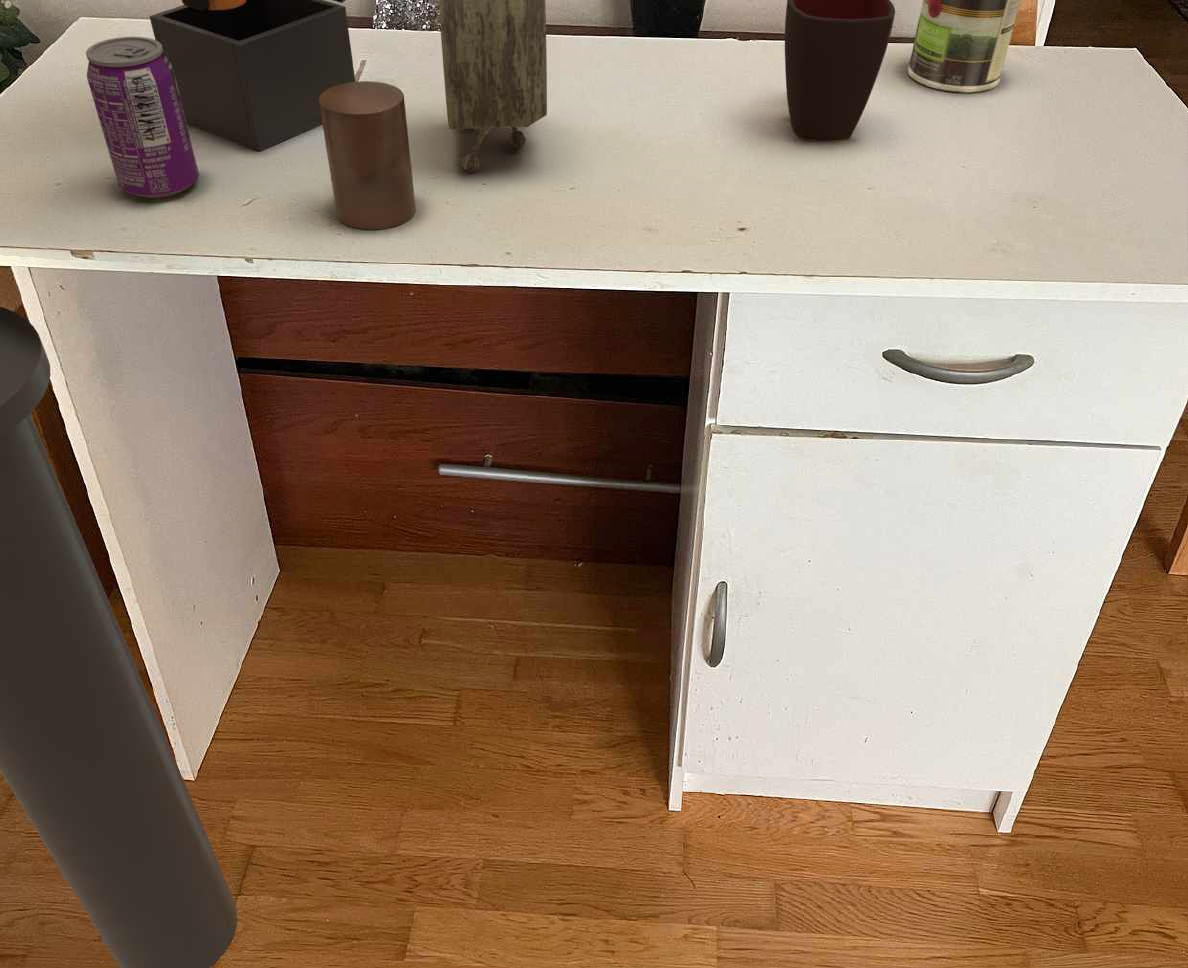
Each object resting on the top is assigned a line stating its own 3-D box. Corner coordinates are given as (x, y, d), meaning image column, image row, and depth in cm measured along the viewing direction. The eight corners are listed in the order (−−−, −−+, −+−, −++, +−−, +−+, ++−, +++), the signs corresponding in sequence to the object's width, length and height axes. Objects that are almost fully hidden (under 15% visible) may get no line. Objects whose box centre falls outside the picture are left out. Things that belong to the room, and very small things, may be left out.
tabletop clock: (450, 119, 114) (428, -172, 96) (539, 117, 115) (533, -173, 97) (452, 181, 104) (427, -131, 86) (549, 179, 105) (544, -132, 87)
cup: (780, 151, 110) (798, 20, 101) (759, 96, 120) (773, -27, 111) (880, 150, 110) (905, 20, 102) (850, 96, 120) (871, -27, 111)
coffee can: (947, 99, 120) (981, -47, 110) (888, 67, 126) (915, -74, 116) (1021, 84, 123) (1060, -60, 113) (959, 53, 129) (991, -85, 119)
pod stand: (377, 237, 96) (361, 120, 89) (320, 214, 99) (300, 99, 92) (432, 208, 100) (421, 94, 93) (375, 186, 103) (360, 74, 96)
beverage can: (214, 173, 104) (182, 38, 96) (178, 207, 100) (142, 68, 91) (144, 166, 105) (106, 31, 97) (106, 199, 101) (63, 60, 92)
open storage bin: (259, 151, 108) (238, 45, 101) (174, 119, 113) (149, 15, 106) (359, 108, 116) (345, 6, 109) (275, 79, 121) (257, -20, 114)
